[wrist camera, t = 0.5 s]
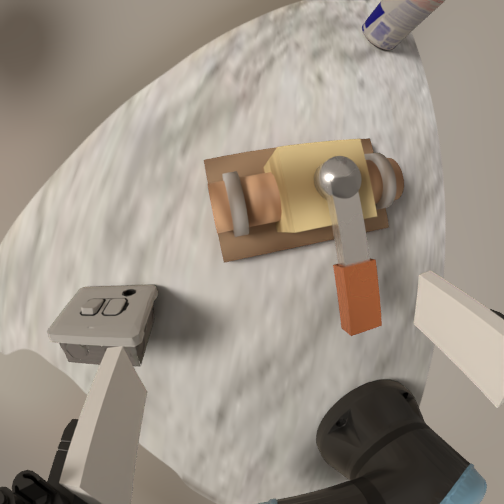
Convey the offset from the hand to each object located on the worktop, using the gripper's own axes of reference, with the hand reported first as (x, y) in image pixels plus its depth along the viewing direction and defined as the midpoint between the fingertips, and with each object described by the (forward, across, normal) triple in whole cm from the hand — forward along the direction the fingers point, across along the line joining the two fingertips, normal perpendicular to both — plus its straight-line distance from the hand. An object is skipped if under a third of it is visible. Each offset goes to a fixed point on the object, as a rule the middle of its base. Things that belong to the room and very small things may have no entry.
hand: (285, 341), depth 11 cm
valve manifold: (+20, -7, -2) cm, 21 cm away
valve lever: (+9, -7, 0) cm, 12 cm away
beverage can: (+26, -25, -23) cm, 43 cm away
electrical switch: (+18, +14, +6) cm, 23 cm away
